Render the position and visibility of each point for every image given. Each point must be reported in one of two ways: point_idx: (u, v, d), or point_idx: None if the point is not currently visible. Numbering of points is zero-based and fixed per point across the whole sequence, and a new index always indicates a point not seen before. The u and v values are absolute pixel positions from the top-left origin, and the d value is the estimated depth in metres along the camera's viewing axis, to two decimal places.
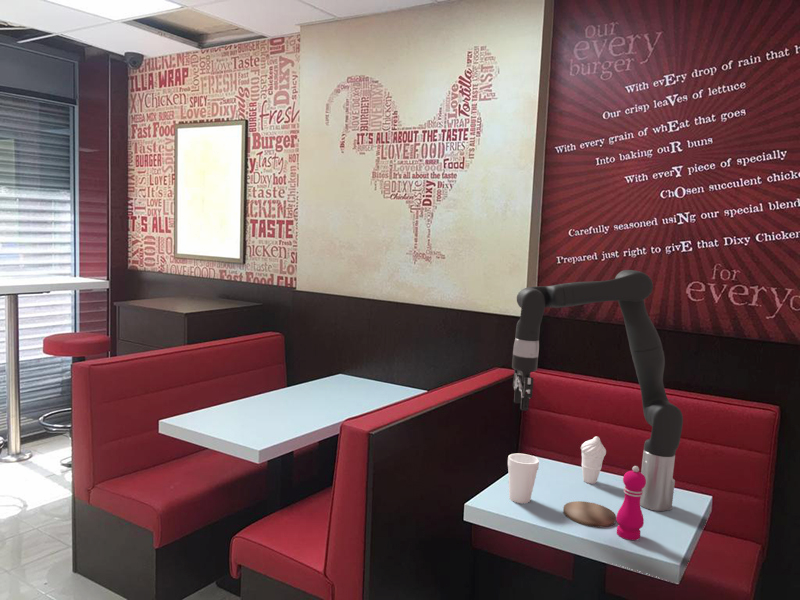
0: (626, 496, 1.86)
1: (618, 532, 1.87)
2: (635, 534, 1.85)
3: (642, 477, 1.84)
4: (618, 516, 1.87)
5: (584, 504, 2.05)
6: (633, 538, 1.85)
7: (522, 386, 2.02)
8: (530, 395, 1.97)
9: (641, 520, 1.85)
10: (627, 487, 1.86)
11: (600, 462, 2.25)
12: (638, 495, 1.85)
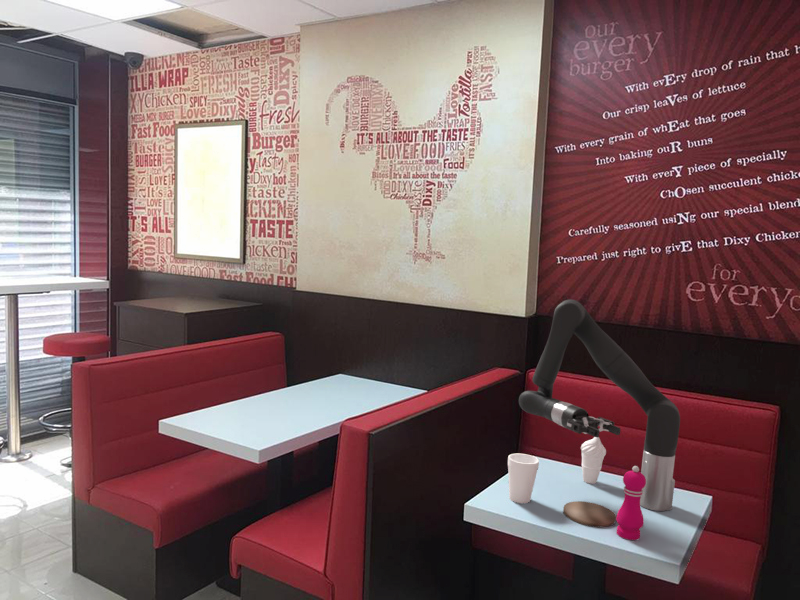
0: (626, 496, 1.86)
1: (618, 532, 1.87)
2: (635, 534, 1.85)
3: (642, 477, 1.84)
4: (618, 516, 1.87)
5: (584, 504, 2.05)
6: (633, 538, 1.85)
7: None
8: (578, 426, 1.96)
9: (641, 520, 1.85)
10: (627, 487, 1.86)
11: (600, 462, 2.25)
12: (638, 495, 1.85)
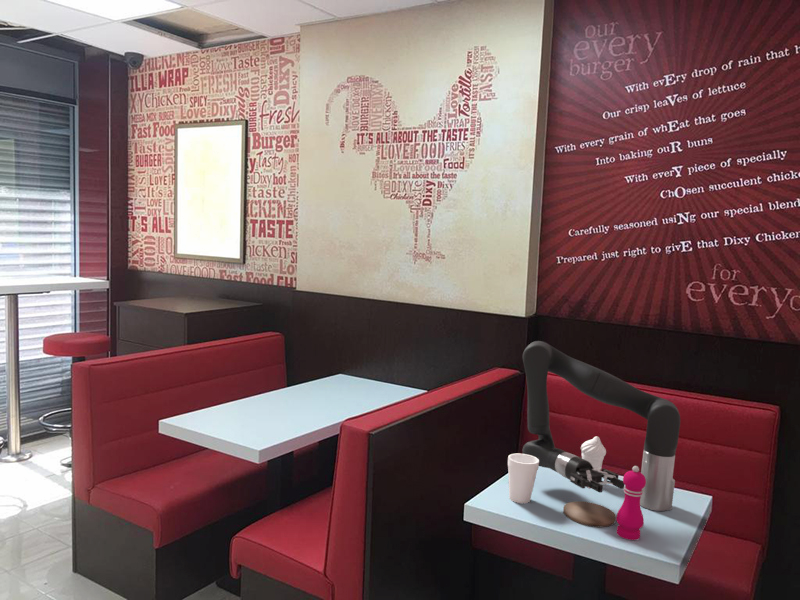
0: (626, 496, 1.86)
1: (618, 532, 1.87)
2: (635, 534, 1.85)
3: (642, 477, 1.84)
4: (618, 516, 1.87)
5: (584, 504, 2.05)
6: (633, 538, 1.85)
7: None
8: (581, 481, 1.95)
9: (641, 520, 1.85)
10: (627, 487, 1.86)
11: (600, 462, 2.25)
12: (638, 495, 1.85)
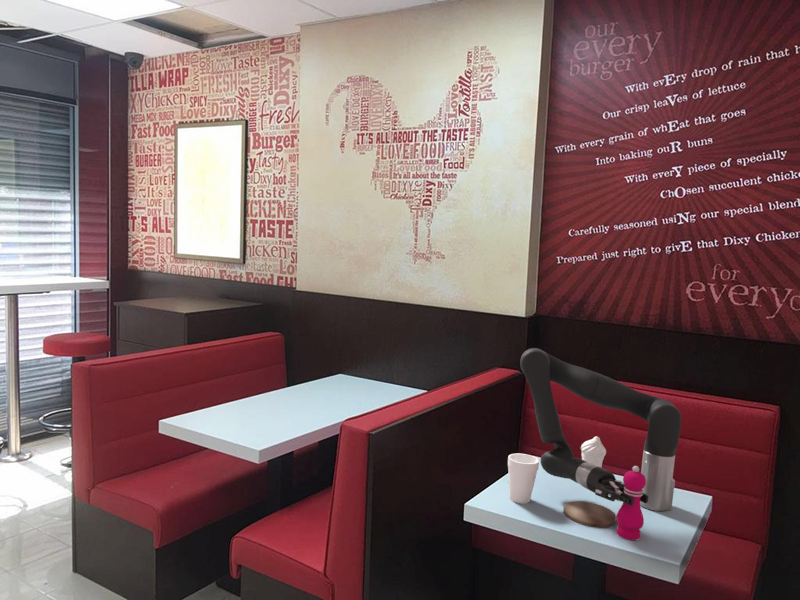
0: None
1: (618, 532, 1.87)
2: (635, 534, 1.85)
3: (642, 477, 1.84)
4: (618, 516, 1.87)
5: (584, 504, 2.05)
6: (633, 538, 1.85)
7: None
8: (611, 494, 1.86)
9: (641, 520, 1.85)
10: (627, 487, 1.86)
11: (600, 462, 2.25)
12: (638, 495, 1.85)
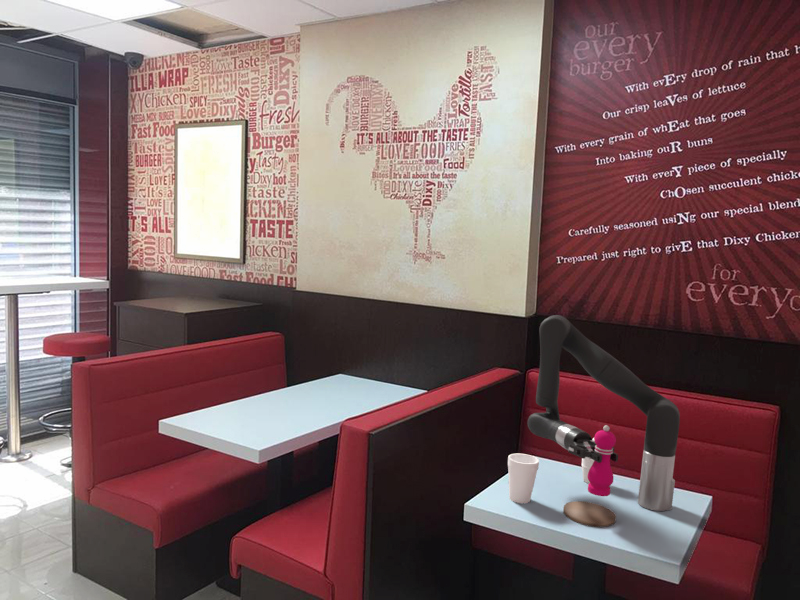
0: None
1: (588, 488, 1.95)
2: (603, 490, 1.93)
3: (611, 436, 1.92)
4: (588, 473, 1.95)
5: (584, 504, 2.05)
6: (601, 494, 1.93)
7: None
8: (582, 451, 1.95)
9: (610, 477, 1.92)
10: (597, 445, 1.94)
11: None
12: (607, 453, 1.92)
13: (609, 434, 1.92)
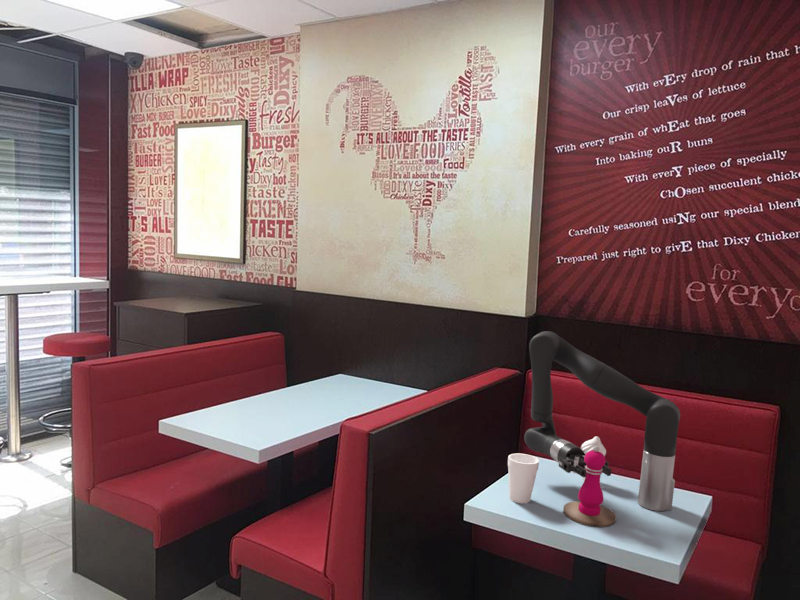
0: (586, 474, 1.98)
1: (579, 508, 1.99)
2: (593, 510, 1.96)
3: (601, 456, 1.96)
4: (579, 492, 1.99)
5: None
6: (591, 514, 1.97)
7: None
8: (567, 465, 1.99)
9: (599, 497, 1.96)
10: (587, 465, 1.98)
11: None
12: (596, 473, 1.96)
13: (598, 455, 1.96)
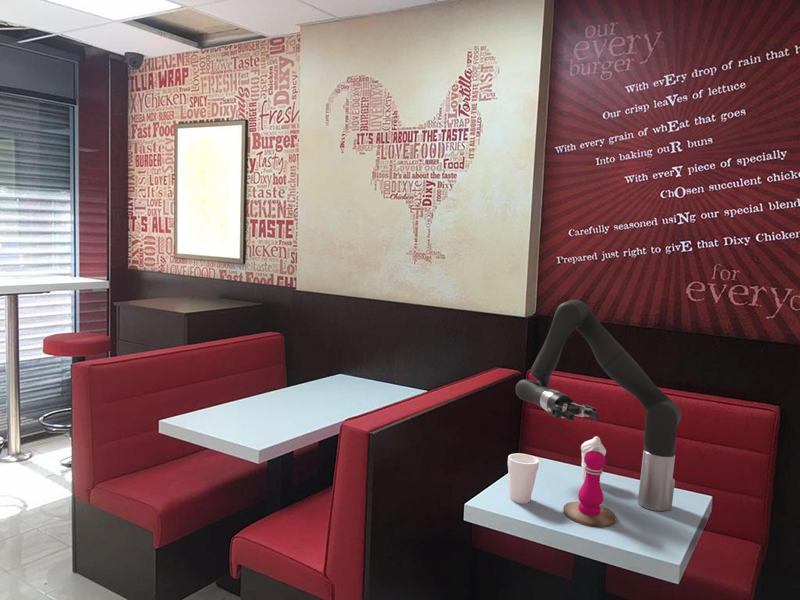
0: (586, 474, 1.98)
1: (579, 508, 1.99)
2: (593, 510, 1.96)
3: (600, 456, 1.96)
4: (579, 492, 1.99)
5: None
6: (591, 514, 1.97)
7: None
8: (555, 410, 2.06)
9: (599, 497, 1.96)
10: (587, 465, 1.98)
11: None
12: (596, 473, 1.96)
13: (598, 455, 1.96)
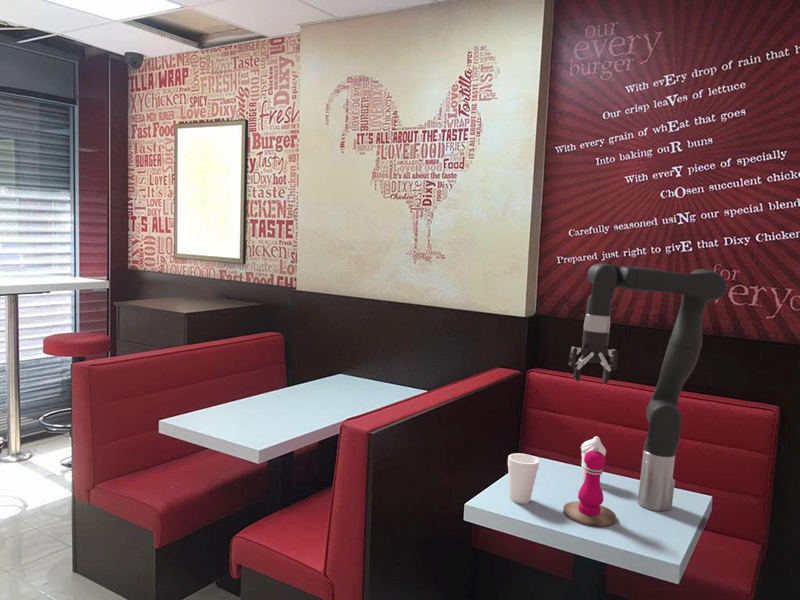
0: (586, 474, 1.98)
1: (579, 508, 1.99)
2: (593, 510, 1.96)
3: (600, 456, 1.96)
4: (579, 492, 1.99)
5: None
6: (591, 514, 1.97)
7: None
8: (570, 364, 2.04)
9: (599, 497, 1.96)
10: (587, 465, 1.98)
11: None
12: (596, 473, 1.96)
13: (598, 455, 1.96)
